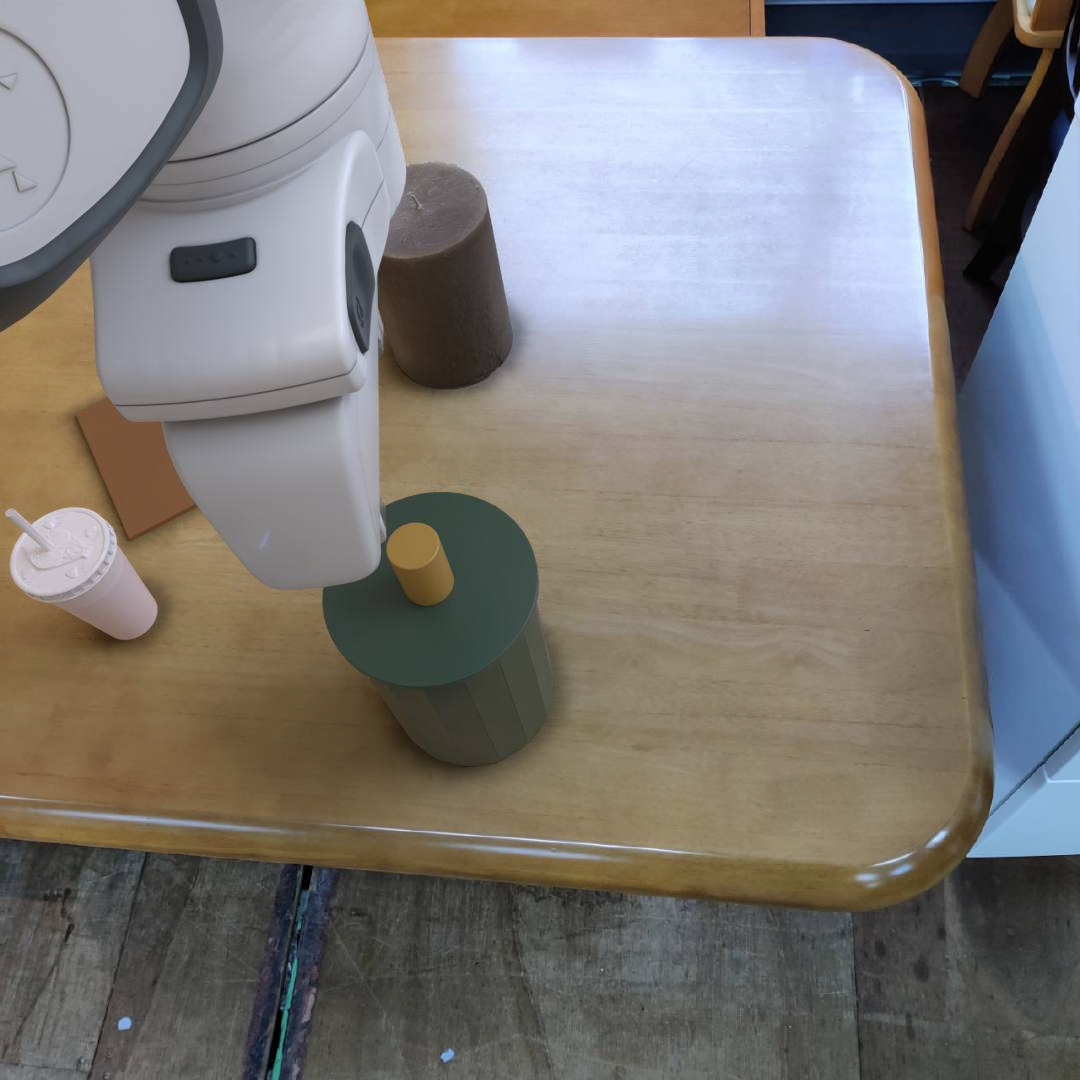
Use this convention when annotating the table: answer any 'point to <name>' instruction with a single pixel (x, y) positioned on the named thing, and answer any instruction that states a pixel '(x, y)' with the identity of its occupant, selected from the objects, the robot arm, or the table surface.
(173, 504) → the cork mat
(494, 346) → the pillar candle
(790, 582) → the table surface
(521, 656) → the tin
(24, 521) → the smoothie
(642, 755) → the table surface
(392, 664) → the tin lid
